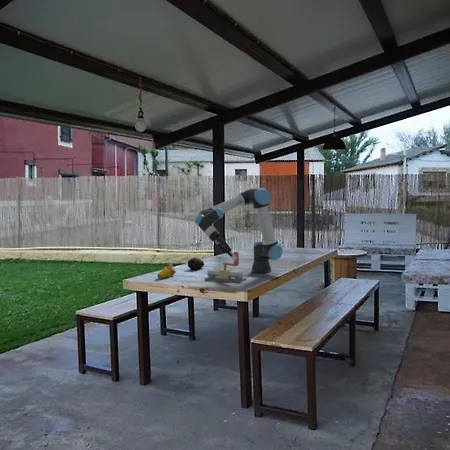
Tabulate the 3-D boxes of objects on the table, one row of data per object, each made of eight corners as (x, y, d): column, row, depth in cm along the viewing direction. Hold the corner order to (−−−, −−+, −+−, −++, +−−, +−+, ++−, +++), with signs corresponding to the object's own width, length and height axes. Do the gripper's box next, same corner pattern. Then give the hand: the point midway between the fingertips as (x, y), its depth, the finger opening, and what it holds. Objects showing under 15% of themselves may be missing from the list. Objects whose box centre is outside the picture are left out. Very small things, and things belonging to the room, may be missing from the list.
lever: (221, 264, 336) (221, 250, 336) (225, 263, 338) (225, 250, 338) (236, 266, 324) (235, 252, 324) (239, 266, 326) (239, 252, 326)
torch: (158, 285, 342) (171, 275, 366) (166, 280, 340) (179, 270, 363) (152, 275, 342) (165, 265, 366) (160, 270, 340) (174, 261, 363)
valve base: (212, 278, 347) (211, 263, 347) (246, 280, 337) (245, 264, 336) (204, 280, 336) (204, 265, 336) (239, 282, 326) (239, 267, 325)
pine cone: (206, 268, 397) (205, 255, 397) (198, 271, 380) (197, 258, 380) (194, 267, 401) (193, 255, 400) (185, 270, 384) (185, 258, 383)
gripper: (213, 236, 337) (235, 262, 331) (205, 238, 325) (228, 264, 319) (220, 229, 334) (242, 254, 329) (212, 230, 323) (235, 256, 317)
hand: (235, 259), depth 324 cm, fingers closed
